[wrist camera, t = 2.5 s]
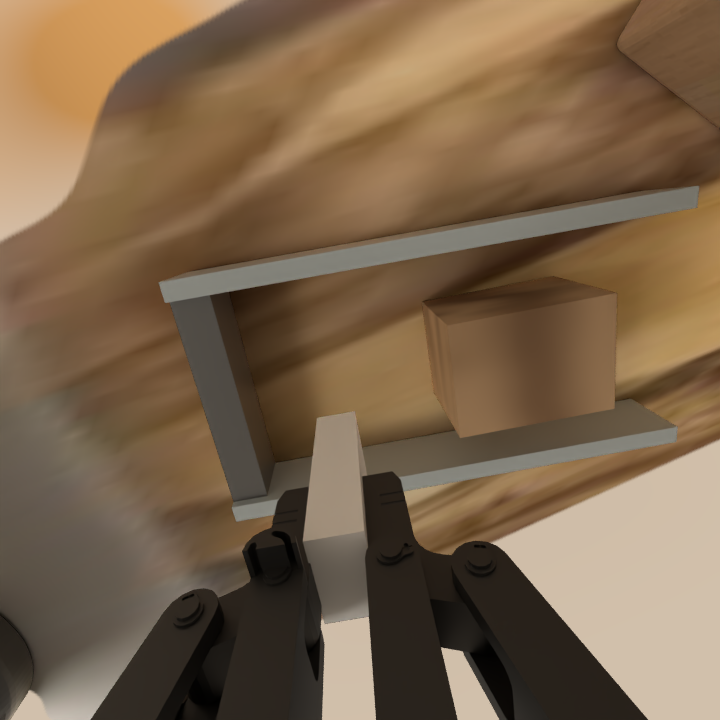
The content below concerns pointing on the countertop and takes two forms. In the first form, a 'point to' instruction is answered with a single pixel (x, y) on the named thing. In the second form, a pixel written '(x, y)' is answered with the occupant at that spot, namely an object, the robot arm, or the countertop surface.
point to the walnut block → (522, 354)
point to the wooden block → (679, 49)
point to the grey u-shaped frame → (415, 455)
